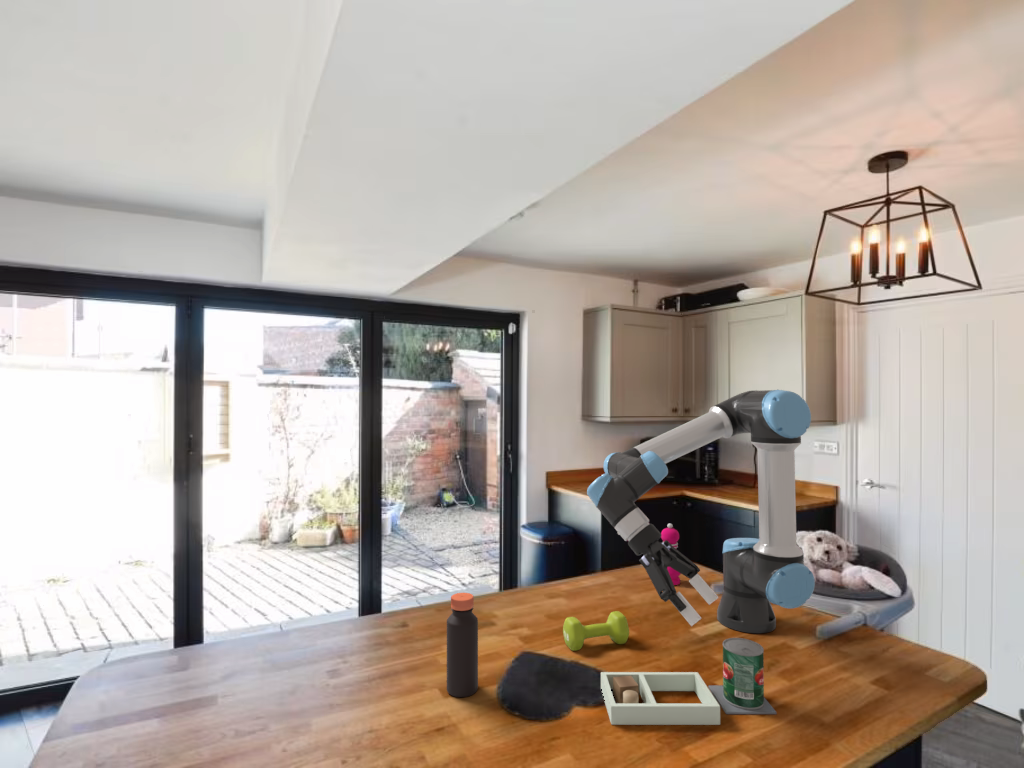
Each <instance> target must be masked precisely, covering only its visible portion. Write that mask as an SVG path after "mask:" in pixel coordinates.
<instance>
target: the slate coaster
mask: <svg viewBox="0 0 1024 768" xmlns="http://www.w3.org/2000/svg"><path fill="white" fill-rule="evenodd" d="M707 687H708V689H709V690H710V692H711V693H712V695H713V696H714V698H715V699H716V701H717V702H718V704H719V705H720V708H721V709H722V710H723V712H724V713H725V714H726V715H777V714H778V713H777V711H776V710H775V708H774V707H773V706H772V705H771V704H770V702H769V701H768V700H767V698H766V697H764V705H763V707H761V708H759V709H755V710H748V709H742V708H738V707H735V706H733V705H731V704H730V703H728V702H727V701H726V700H725V699H724V697H723V684H721V685H719V684H718V685H714V684H713V685H712V684H711V685H710V684H709V685H708V686H707Z"/></svg>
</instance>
